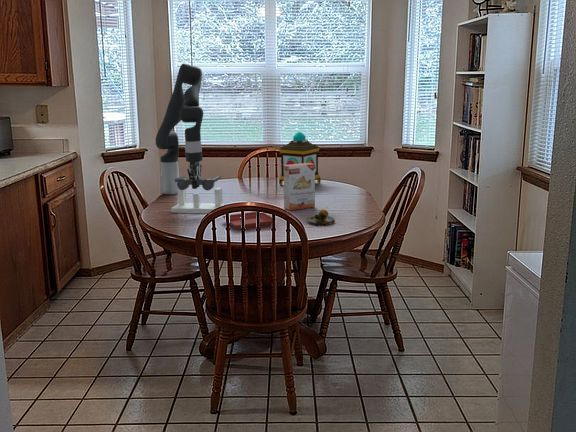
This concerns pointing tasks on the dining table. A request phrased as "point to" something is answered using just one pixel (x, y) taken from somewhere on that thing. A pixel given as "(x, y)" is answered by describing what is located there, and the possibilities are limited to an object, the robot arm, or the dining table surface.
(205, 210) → the display stand
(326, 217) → the small succulent plant
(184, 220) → the dining table surface
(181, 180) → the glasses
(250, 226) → the plant saucer
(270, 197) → the dining table surface
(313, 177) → the cracker box
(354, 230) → the dining table surface
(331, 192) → the dining table surface
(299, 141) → the decorative lantern
